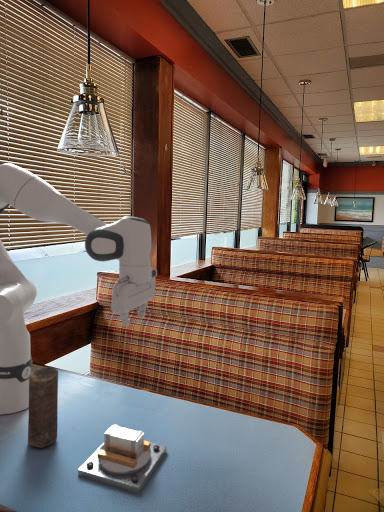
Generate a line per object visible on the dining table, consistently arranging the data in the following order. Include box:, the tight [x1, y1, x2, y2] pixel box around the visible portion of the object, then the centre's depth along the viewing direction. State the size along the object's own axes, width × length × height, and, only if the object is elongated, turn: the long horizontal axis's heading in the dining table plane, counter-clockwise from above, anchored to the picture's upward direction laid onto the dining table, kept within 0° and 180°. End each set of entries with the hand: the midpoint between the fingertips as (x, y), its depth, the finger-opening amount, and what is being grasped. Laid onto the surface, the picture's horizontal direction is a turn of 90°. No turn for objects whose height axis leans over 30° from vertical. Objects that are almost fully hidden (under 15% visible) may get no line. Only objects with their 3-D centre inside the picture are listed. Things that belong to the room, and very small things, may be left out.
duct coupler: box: [103, 424, 145, 460], centre depth 95 cm, size 4×9×5 cm, turn 71°
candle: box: [27, 366, 59, 449], centre depth 101 cm, size 8×7×20 cm
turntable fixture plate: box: [77, 439, 167, 495], centre depth 95 cm, size 16×16×4 cm
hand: (133, 321), depth 110 cm, fingers open, 8 cm apart
